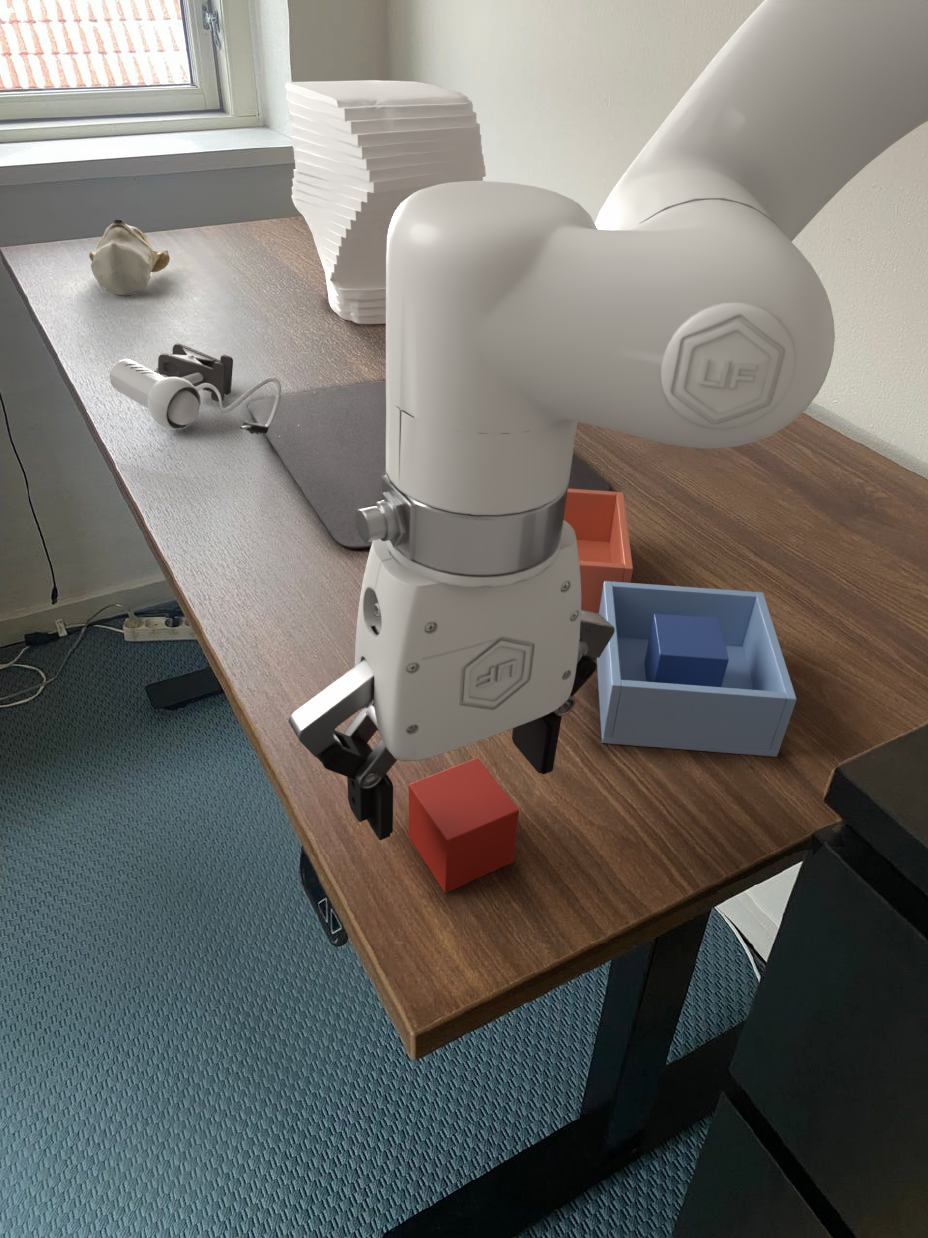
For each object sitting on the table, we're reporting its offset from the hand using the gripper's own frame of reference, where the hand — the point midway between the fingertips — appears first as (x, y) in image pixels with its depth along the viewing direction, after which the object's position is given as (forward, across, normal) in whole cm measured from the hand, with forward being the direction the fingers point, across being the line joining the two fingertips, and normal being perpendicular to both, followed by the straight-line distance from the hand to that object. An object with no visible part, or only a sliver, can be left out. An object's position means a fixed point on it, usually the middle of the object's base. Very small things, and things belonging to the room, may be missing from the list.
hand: (455, 786), depth 49 cm
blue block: (+4, +20, +4) cm, 21 cm away
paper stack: (+6, +38, +80) cm, 89 cm away
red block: (+5, 0, 0) cm, 5 cm away
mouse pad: (+5, +21, +45) cm, 50 cm away
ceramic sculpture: (+6, +8, +105) cm, 106 cm away
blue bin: (+5, +20, +4) cm, 21 cm away
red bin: (+5, +20, +20) cm, 29 cm away
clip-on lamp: (+6, +5, +60) cm, 60 cm away
